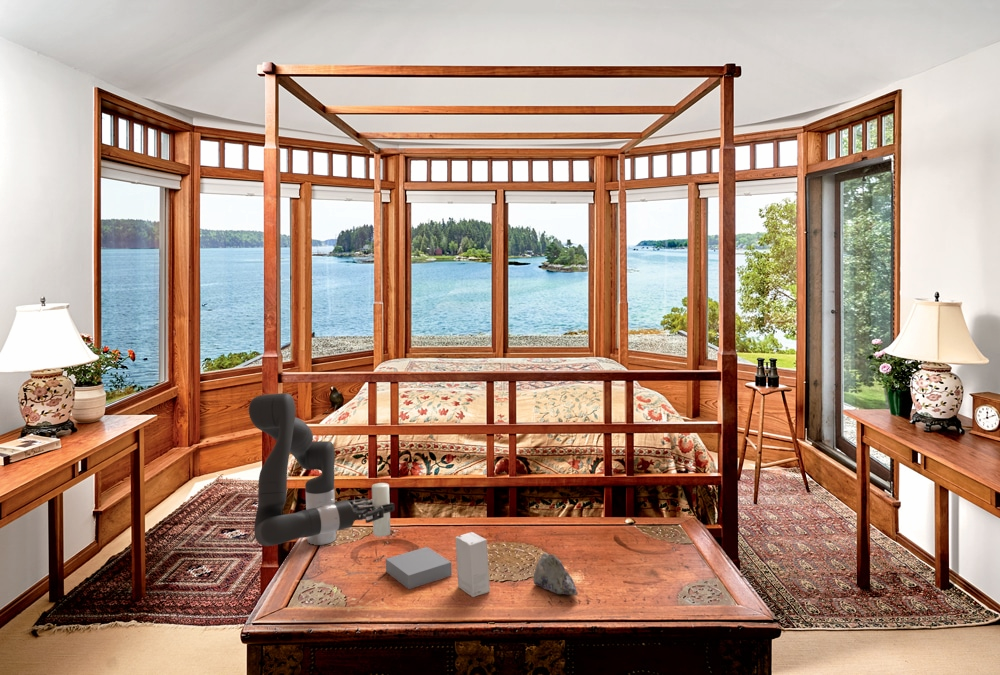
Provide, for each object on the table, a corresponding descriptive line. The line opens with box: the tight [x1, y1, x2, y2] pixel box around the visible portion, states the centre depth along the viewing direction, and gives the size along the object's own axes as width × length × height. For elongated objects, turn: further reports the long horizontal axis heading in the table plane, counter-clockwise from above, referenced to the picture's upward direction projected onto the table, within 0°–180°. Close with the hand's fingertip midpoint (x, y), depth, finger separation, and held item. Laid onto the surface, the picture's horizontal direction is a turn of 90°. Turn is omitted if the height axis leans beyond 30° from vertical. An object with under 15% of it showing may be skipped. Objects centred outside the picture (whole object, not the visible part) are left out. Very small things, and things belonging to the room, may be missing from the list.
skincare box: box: [455, 531, 491, 598], centre depth 180 cm, size 8×6×15 cm
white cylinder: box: [371, 482, 391, 538], centre depth 185 cm, size 5×5×14 cm
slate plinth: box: [385, 546, 453, 590], centre depth 191 cm, size 14×14×4 cm
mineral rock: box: [533, 552, 578, 596], centre depth 179 cm, size 13×11×10 cm
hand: (389, 504), depth 187 cm, fingers closed on white cylinder, 4 cm apart
